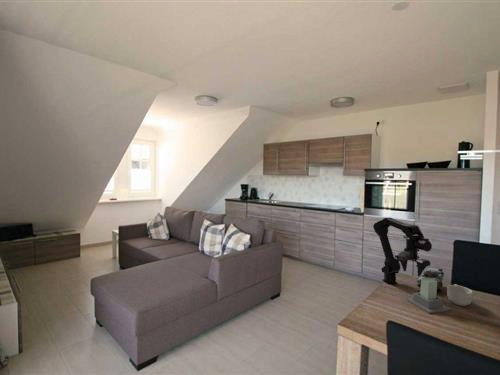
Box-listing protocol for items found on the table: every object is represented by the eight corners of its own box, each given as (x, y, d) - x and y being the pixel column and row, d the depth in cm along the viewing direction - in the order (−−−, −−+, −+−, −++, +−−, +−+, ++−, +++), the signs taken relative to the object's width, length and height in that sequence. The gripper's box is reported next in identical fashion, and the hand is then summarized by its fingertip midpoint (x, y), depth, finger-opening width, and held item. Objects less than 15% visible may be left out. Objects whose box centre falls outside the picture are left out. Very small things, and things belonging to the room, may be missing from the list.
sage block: (419, 301, 142) (421, 278, 141) (428, 300, 143) (429, 277, 142) (427, 306, 137) (428, 282, 137) (435, 305, 138) (437, 281, 137)
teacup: (472, 310, 136) (473, 295, 135) (445, 303, 142) (446, 289, 141) (470, 299, 147) (471, 285, 146) (446, 294, 153) (447, 280, 153)
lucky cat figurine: (411, 283, 167) (415, 262, 171) (427, 290, 168) (432, 269, 171) (430, 286, 153) (434, 263, 156) (448, 294, 153) (452, 271, 157)
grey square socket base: (406, 300, 145) (406, 291, 145) (426, 297, 149) (426, 288, 148) (429, 313, 132) (429, 304, 132) (450, 310, 135) (451, 301, 135)
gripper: (387, 244, 158) (387, 270, 159) (416, 252, 141) (415, 281, 141) (402, 243, 162) (401, 268, 162) (431, 250, 144) (431, 278, 144)
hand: (411, 273), depth 152 cm, fingers open, 9 cm apart
